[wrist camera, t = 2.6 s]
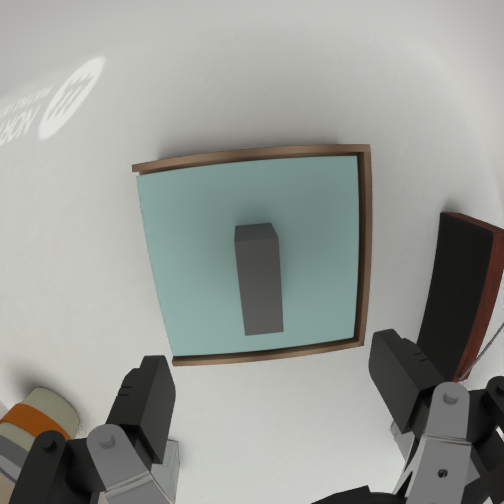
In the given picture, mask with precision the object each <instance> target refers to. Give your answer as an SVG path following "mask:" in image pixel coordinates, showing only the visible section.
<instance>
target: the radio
mask: <svg viewBox="0 0 504 504" xmlns="http://www.w3.org/2000/svg"><path fill="white" fill-rule="evenodd" d="M503 270H504V229H502V228H499V227H497V226H494V225H491V224H489V223H486V222H483V221H481V220H478V219H475V218H472V217H469V216H467V215H464V214H461V213H441V214H440V223H439V232H438V240H437V248H436V255H435V261H434V268H433V273H432V279H431V284H430V289H429V294H428V299H427V304H426V308H425V313H424V317H423V321H422V325H421V329H420V333H419V336H418V340H417V344H416V345H417V346H418V347H419V349H420V350H421V351H422V353H424V355H425V356H426V357H427V359H428V360H429V361H430V362H431V363H432V364H433V366H434V367H435V368H436V369H437V371H438V372H439V373H440V374H441V376H442V377H443V378H444V379H445V381H446V382H455V383H457V382H460V381H463V380H465V379H467V378H468V376H469V374H470V372H471V369H472V367H473V366H474V365H475V364H476V362H477V361H478V360H479V359H480V358H481V356H482V355H483V354H484V353H485V351H486V350H487V349H488V347H489V346H490V345H491V343H492V342H493V340H494V339H495V338H496V336H497V335H498V333H499V332H500V331H501V329H502V328H503V326H504V323H503V324H502V326H501V327H500V328H499V330H498V331H497V333H496V334H495V335H494V337H493V338H492V340H491V341H490V342H489V343H488V344H487V346H486V347H485V348H484V350H483V351H482V352H481V353H480V355H479V356H478V357H477V355H478V352H479V350H480V347H481V345H482V342H483V339H484V336H485V334H486V331H487V328H488V325H489V322H490V319H491V315H492V312H493V309H494V305H495V302H496V298H497V295H498V291H499V287H500V283H501V279H502V274H503ZM476 357H477V359H476Z"/></svg>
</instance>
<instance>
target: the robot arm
mask: <svg viewBox="0 0 504 504" xmlns="http://www.w3.org/2000/svg"><path fill="white" fill-rule="evenodd" d="M369 372H370V376H371V378H372V380H373V381H374V383H375V385H376V387H377V389H378V391H379V392H380V394H381V396H382V398H383V400H384V402H385V404H386V405H387V407H388V409H389V411H390V413H391V415H392V417H393V419H394V420H395V421H394V423H393V425H392V427H391V432H392V434H393V436H394V439H395V441H396V443H397V445H398V447H399V449H400V451H401V453H402V455H403V457H404V460H405V465H404V467H403V470H402V473H401V476H400V478H399V480H398V482H397V484H396V486H395V488H394V490H393V492H392V494H391V493H383V492H370V490H369V487H368V485H366V486H363V487H359V488H356V489H352V490H348V491H344V492H339V493H335V494H333V495H330V496H328V497H326V498H323V499H321V500H319V501H316V502H314V503H311V504H483V503H484V502H485V501H486V499H487V498H488V497H489V496H490V498H491V500H492V503H493V504H504V442H503V440H502V438H501V437H500V435H499V434H498V432H497V431H496V429H497V428H498V426H499V427H500V429H501V430H502V432H503V433H504V376H496V377H493V378H491V379H490V380H489V382H488V384H487V386H486V388H485V389H480V390H472V391H467V389H466V388H465V387H464V386H462V385H461V384H458V383H455V382H446V381H445V379H444V378H443V377H442V376H441V374H440V373H439V372H438V371H437V369H436V368H435V367H434V366H433V364H432V363H431V362H430V361H429V360H427V357H426V356H425V355H424V353H423V354H422V351H421V350H420V349H419V347H418V346H417V345H416V344H415V343H413V342H411V341H410V340H408V339H406V338H403V339H401V337H400V336H399V335H398V334H397V332H396V331H395V330H394V329H387V330H383V331H378V332H375V333H374V334H373V338H372V345H371V351H370V358H369ZM175 398H176V391H175V385H174V382H173V379H172V376H171V373H170V369H169V366H168V363H167V360H166V357H165V356H164V355H152V356H144V358H143V360H142V363H141V365H140V368H133V369H132V370H131V371H130V372H129V373H128V374H127V375H126V376H125V378H124V380H123V382H122V385H121V388H120V389H119V392H118V396H116V399H115V401H114V404H113V406H112V409H111V411H110V413H109V416H108V418H107V421H106V423H105V424H104V425H100V426H98V427H96V428H94V429H93V430H92V431H91V432H90V433H89V435H88V437H87V438H81V439H71V440H66V438H65V437H64V436H63V434H62V433H60V432H59V431H56V430H47V431H44V432H42V433H41V434H39V435H38V436H37V437H36V438H35V440H34V442H33V444H32V446H31V449H30V451H29V453H28V455H27V458H26V460H25V462H24V465H23V467H22V469H21V472H20V474H19V477H18V479H17V482H16V484H15V488H14V490H13V492H12V495H11V498H10V501H9V504H98V499H99V495H100V492H103V491H106V492H105V497H106V499H107V501H108V503H109V504H173V503H172V501H171V500H170V499H169V497H168V496H167V495H166V493H165V492H164V491H163V489H162V488H161V486H160V485H159V484H158V482H157V481H156V479H155V478H154V476H153V475H152V473H151V468H152V464H161V465H163V460H164V454H165V449H166V443H167V438H168V433H169V428H170V423H171V418H172V413H173V408H174V403H175Z"/></svg>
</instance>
